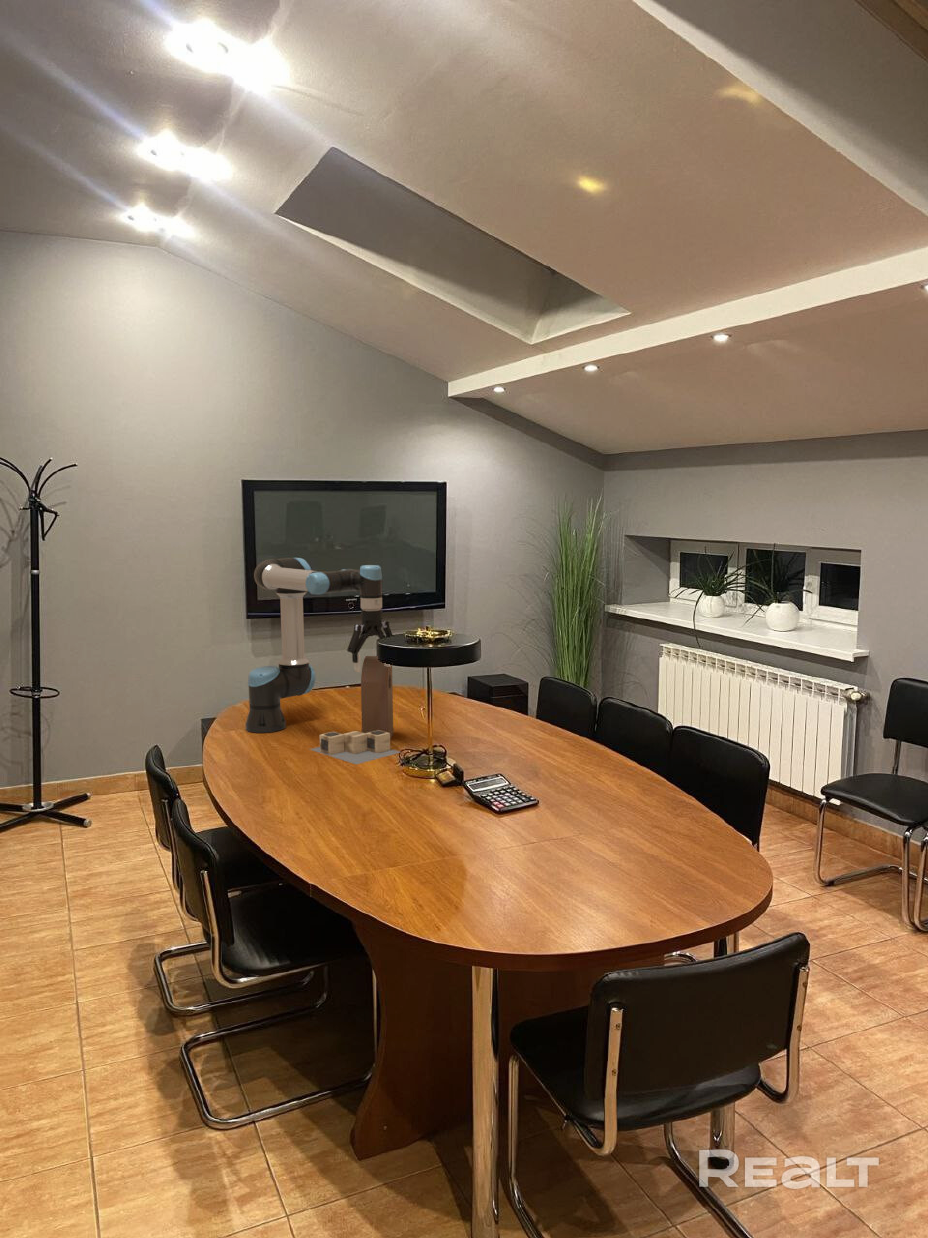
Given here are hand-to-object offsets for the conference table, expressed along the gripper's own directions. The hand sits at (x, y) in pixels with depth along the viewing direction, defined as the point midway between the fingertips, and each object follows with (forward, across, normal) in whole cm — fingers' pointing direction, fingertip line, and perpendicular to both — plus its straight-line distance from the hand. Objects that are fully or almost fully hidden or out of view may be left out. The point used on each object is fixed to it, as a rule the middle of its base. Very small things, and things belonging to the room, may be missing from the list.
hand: (372, 669), depth 329 cm
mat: (+28, -10, -2) cm, 30 cm away
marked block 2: (+27, -4, -7) cm, 28 cm away
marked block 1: (+27, -16, +3) cm, 32 cm away
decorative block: (+28, +7, +6) cm, 30 cm away
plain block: (+27, -10, -2) cm, 29 cm away
